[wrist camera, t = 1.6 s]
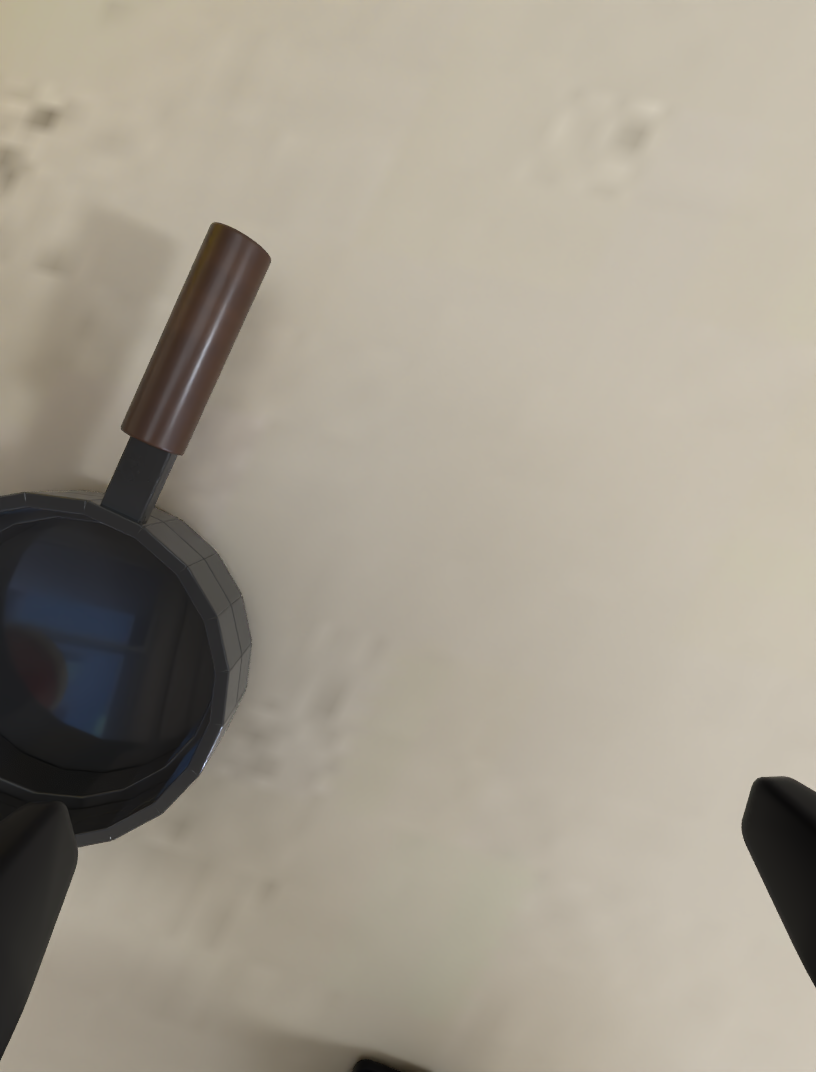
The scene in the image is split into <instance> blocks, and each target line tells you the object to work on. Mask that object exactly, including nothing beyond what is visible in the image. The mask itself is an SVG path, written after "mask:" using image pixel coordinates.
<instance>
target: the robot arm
mask: <svg viewBox="0 0 816 1072" xmlns="http://www.w3.org/2000/svg"><path fill="white" fill-rule="evenodd" d="M742 835H743V838H744V841H745V844H746V846H747V848H748V850H749V853H750V855H751V857H752V859H753V861H754V863H755V865H756V867H757V869H758V872H759V874H760V876H761V878H762V880H763V882H764V884H765V886H766V888H767V891H768V893H769V895H770V897H771V899H772V901H773V903H774V905H775V907H776V910H777V912H778V914H779V916H780V918H781V920H782V922H783V924H784V926H785V929H786V931H787V933H788V935H789V937H790V939H791V941H792V943H793V946H794V948H795V950H796V951H797V953H798V955H799V957H800V959H801V961H802V963H803V965H804V967H805V969H806V971H807V973H808V975H809V976H810V978H811V980H812V982H813V984H814V986H815V987H816V792H815V791H813V790H812V789H810V788H808V787H806V786H805V785H803V784H801V783H800V782H798V781H796V780H794V779H792V778H789V777H784V776H781V777H760V778H757V779H756V780H755V781H754V782H753V785H752V787H751V791H750V794H749V798H748V801H747V805H746V808H745V812H744V815H743V819H742ZM77 859H78V848H77V843H76V839H75V835H74V832H73V828H72V824H71V820H70V816H69V812H68V809H67V807H66V805H65V804H64V803H63V802H60V801H41V802H30V803H27V804H25V805H23V806H21V807H20V808H18V809H17V810H15V811H14V812H13V813H11V814H10V815H8V816H7V817H6V818H4V819H3V820H1V821H0V1060H1V1058H2V1056H3V1054H4V1051H5V1049H6V1047H7V1045H8V1043H9V1041H10V1039H11V1036H12V1034H13V1032H14V1030H15V1027H16V1025H17V1023H18V1021H19V1018H20V1016H21V1014H22V1012H23V1009H24V1007H25V1004H26V1002H27V999H28V997H29V994H30V992H31V989H32V986H33V984H34V981H35V978H36V976H37V973H38V970H39V967H40V965H41V962H42V959H43V956H44V954H45V951H46V948H47V946H48V943H49V940H50V937H51V935H52V932H53V929H54V926H55V924H56V921H57V918H58V915H59V913H60V910H61V907H62V905H63V902H64V899H65V896H66V894H67V891H68V888H69V885H70V883H71V880H72V877H73V874H74V872H75V868H76V865H77ZM352 1072H400V1071H398V1070H395V1069H393V1068H390V1067H387V1066H385V1065H382V1064H379V1063H377V1062H374V1061H372V1060H367V1059H365V1060H361V1061H359V1062H358V1063H357V1064H356V1065H355V1067H354V1069H353V1071H352Z"/></svg>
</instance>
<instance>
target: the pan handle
mask: <svg viewBox="0 0 816 1072" xmlns="http://www.w3.org/2000/svg"><path fill="white" fill-rule="evenodd" d="M270 263H271V258H270V256H269V255H268V253H267V252H266V251H265V250H264V249H263V248H262V247H261V246H260V245H259V244H257V243H256V242H255V241H253V240H252V239H251V238H249V237H248V236H246V235H245V234H243V233H241V232H240V231H238V230H236V229H234V228H232V227H230V226H227V225H225V224H222V223H217V222H214V223H212V224H211V225H210V227H209V230H208V232H207V234H206V236H205V239H204V241H203V243H202V245H201V248H200V250H199V252H198V254H197V256H196V259H195V261H194V263H193V265H192V268H191V270H190V272H189V274H188V277H187V279H186V281H185V283H184V286H183V288H182V290H181V292H180V295H179V297H178V299H177V301H176V304H175V306H174V308H173V310H172V313H171V315H170V317H169V319H168V322H167V324H166V326H165V328H164V331H163V333H162V335H161V337H160V340H159V342H158V344H157V346H156V349H155V351H154V353H153V355H152V358H151V360H150V362H149V364H148V366H147V369H146V371H145V373H144V375H143V378H142V380H141V382H140V384H139V387H138V389H137V391H136V393H135V396H134V398H133V400H132V402H131V405H130V407H129V409H128V411H127V414H126V416H125V418H124V420H123V423H122V425H121V430H122V431H124V432H125V433H126V434H128V435H130V436H131V437H130V439H129V441H128V443H127V446H126V448H125V450H124V452H123V454H122V457H121V459H120V461H119V463H118V466H117V468H116V470H115V472H114V475H113V477H112V479H111V481H110V484H109V486H108V488H107V490H106V492H105V495H104V497H103V499H102V501H101V504H103V505H105V506H107V507H109V508H112V509H114V510H116V511H118V512H120V513H123V514H125V515H127V516H129V517H131V518H133V519H136V520H138V521H147V520H148V519H149V517H150V515H151V512H152V510H153V508H154V506H155V504H156V501H157V499H158V497H159V495H160V493H161V490H162V488H163V486H164V484H165V482H166V479H167V477H168V475H169V473H170V471H171V468H172V466H173V464H174V462H175V460H176V457H177V455H183V454H184V452H185V450H186V448H187V446H188V443H189V441H190V439H191V437H192V435H193V432H194V430H195V428H196V426H197V424H198V421H199V419H200V417H201V415H202V413H203V410H204V408H205V406H206V404H207V402H208V399H209V397H210V395H211V393H212V391H213V388H214V386H215V384H216V382H217V380H218V377H219V375H220V373H221V371H222V369H223V366H224V364H225V362H226V360H227V358H228V355H229V353H230V351H231V349H232V347H233V344H234V342H235V340H236V338H237V336H238V333H239V331H240V329H241V327H242V325H243V323H244V320H245V318H246V316H247V314H248V312H249V309H250V307H251V305H252V303H253V301H254V298H255V296H256V294H257V292H258V290H259V287H260V285H261V283H262V281H263V279H264V276H265V274H266V272H267V270H268V268H269V265H270Z"/></svg>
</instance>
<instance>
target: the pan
mask: <svg viewBox="0 0 816 1072" xmlns="http://www.w3.org/2000/svg"><path fill="white" fill-rule="evenodd" d="M104 495H105V493H101V492H94V491H86V490H71V491H39V492H21V493H16V494H10V495H4V496H0V821H1V820H3V819H4V818H6V817H7V816H8V815H10V814H11V813H13V812H14V811H15V810H17V809H18V808H20V807H21V806H23V805H25V804H27V803H30V802H41V801H60V802H63V803H64V804H65V805H66V807H67V809H68V812H69V816H70V820H71V824H72V828H73V832H74V835H75V839H76V843H77V848H78V847H83V846H88V845H93V844H98V843H103V842H108V841H111V840H115V839H116V838H118V837H120V836H122V835H124V834H126V833H128V832H130V831H131V830H133V829H135V828H137V827H139V826H141V825H143V824H144V823H146V822H148V821H150V820H152V819H154V818H156V817H158V816H159V815H161V814H162V813H164V812H165V811H166V810H167V809H168V808H169V807H170V805H171V804H172V803H173V802H174V801H175V800H176V799H177V798H178V797H179V796H180V795H181V794H182V793H183V792H184V791H185V790H186V789H187V788H188V787H189V786H190V785H191V784H192V783H193V782H194V781H195V780H196V779H197V778H198V777H199V775H200V774H201V772H202V771H203V769H204V767H205V766H206V764H207V762H208V761H209V759H210V757H211V756H212V754H213V752H214V751H215V749H216V747H217V746H218V744H219V742H220V741H221V739H222V737H223V735H224V734H225V732H226V730H227V729H228V727H229V725H230V723H231V720H232V718H233V716H234V714H235V712H236V710H237V708H238V706H239V704H240V702H241V699H242V697H243V695H244V693H245V691H246V687H247V682H248V673H249V665H250V656H251V648H252V643H251V642H252V639H251V634H250V629H249V625H248V620H247V615H246V610H245V606H244V601H243V597H242V596H241V595H242V594H241V592H240V590H239V589H238V587H237V585H236V583H235V582H234V580H233V578H232V577H231V575H230V573H229V571H228V570H227V568H226V566H225V564H224V563H223V561H222V559H221V558H220V556H219V554H218V553H217V552H216V551H215V550H214V549H213V548H212V547H211V546H210V545H209V544H208V543H207V542H205V541H204V540H203V539H202V538H201V537H200V536H199V535H198V534H197V533H196V532H194V531H193V530H192V529H191V528H190V527H189V526H188V525H187V524H186V523H185V522H183V521H182V520H181V519H178V518H177V517H175V516H173V515H171V514H169V513H167V512H164V511H162V510H160V509H158V508H156V507H154V508H153V510H152V512H151V515H150V517H149V519H148V520H147V521H138V520H136V519H133V518H131V517H129V516H127V515H125V514H123V513H120V512H118V511H116V510H114V509H112V508H109V507H107V506H105V505H103V504H101V501H102V499H103V497H104Z"/></svg>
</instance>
